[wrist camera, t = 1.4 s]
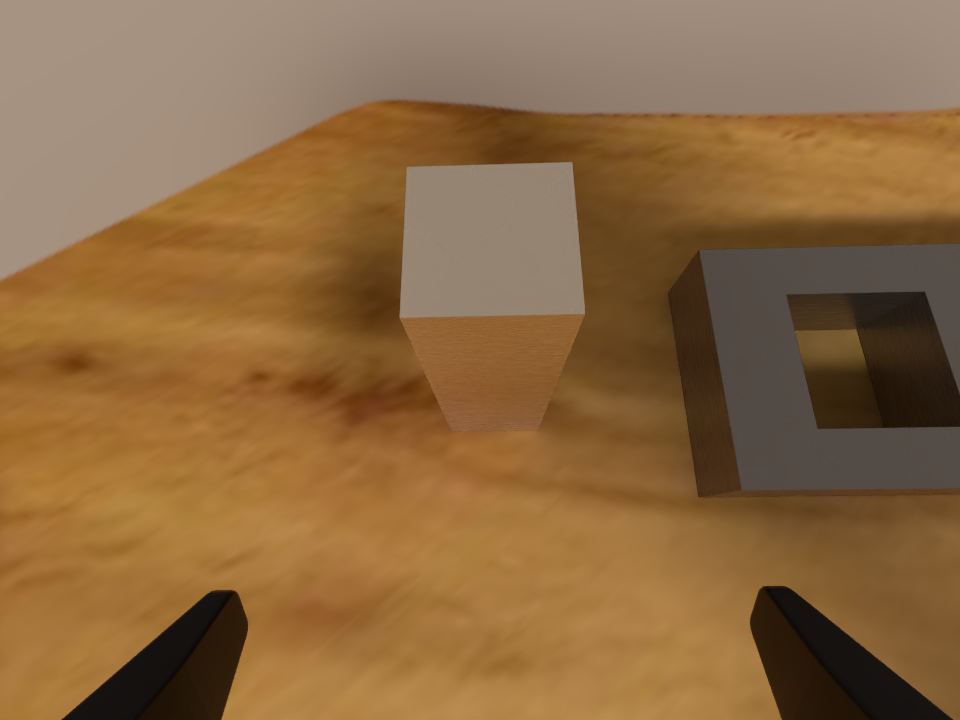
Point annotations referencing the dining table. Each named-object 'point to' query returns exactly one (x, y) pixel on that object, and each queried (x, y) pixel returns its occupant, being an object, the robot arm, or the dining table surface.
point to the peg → (492, 287)
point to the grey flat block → (781, 379)
